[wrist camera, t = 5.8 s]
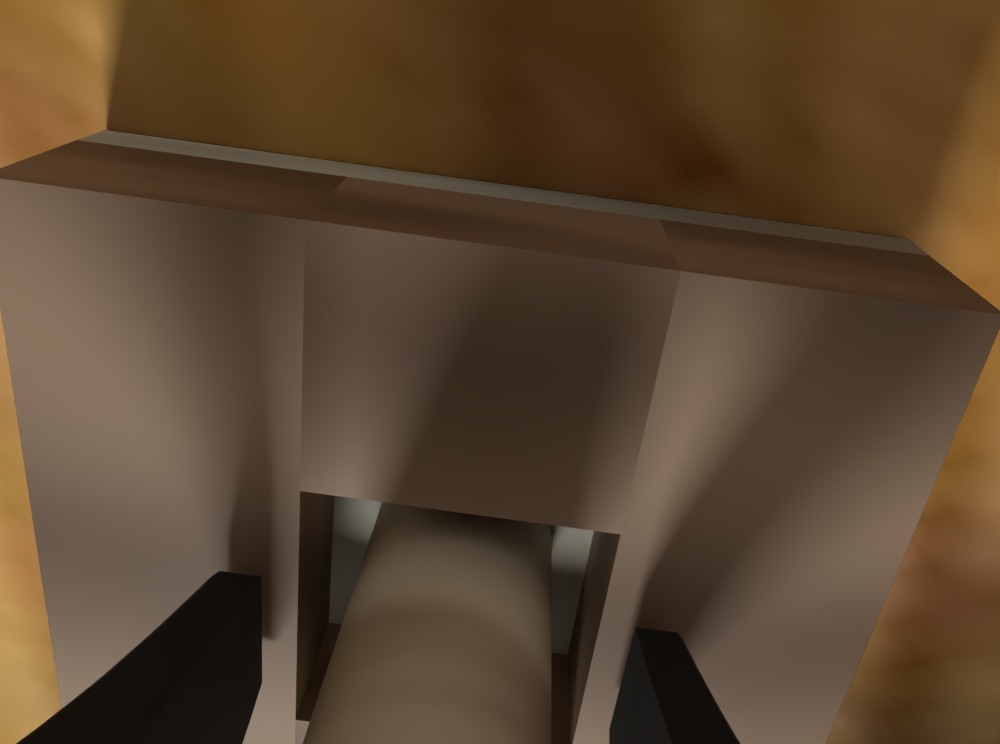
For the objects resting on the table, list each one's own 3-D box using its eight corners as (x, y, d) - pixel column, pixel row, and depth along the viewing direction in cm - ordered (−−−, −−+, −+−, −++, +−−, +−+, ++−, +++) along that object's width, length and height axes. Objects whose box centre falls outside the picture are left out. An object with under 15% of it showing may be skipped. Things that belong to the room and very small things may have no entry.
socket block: (717, 783, 18) (746, 931, 15) (153, 708, 18) (81, 841, 15) (907, 239, 12) (1005, 315, 10) (104, 130, 12) (-20, 175, 10)
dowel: (540, 617, 15) (530, 1087, 9) (372, 596, 15) (238, 1050, 9) (562, 473, 14) (571, 900, 7) (380, 451, 14) (230, 857, 7)
